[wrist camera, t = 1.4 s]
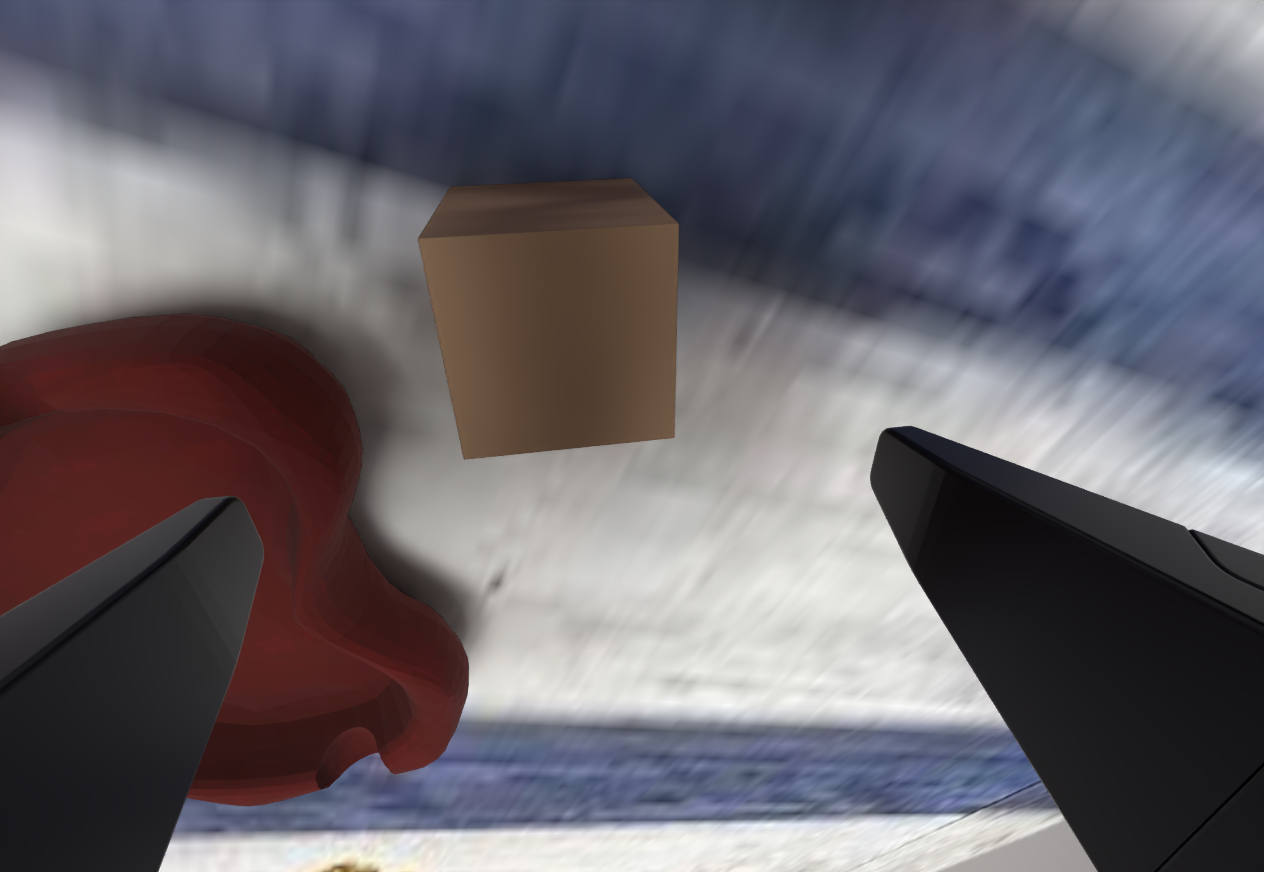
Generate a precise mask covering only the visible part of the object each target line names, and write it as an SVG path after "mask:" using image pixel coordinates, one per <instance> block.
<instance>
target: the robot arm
mask: <svg viewBox="0 0 1264 872" xmlns="http://www.w3.org/2000/svg"><path fill="white" fill-rule="evenodd" d="M870 481H871V486H872V489H873V492H874V494H875V496H876V498H877V500H878V502H879V504H880V506H881V508H882V511H883V513H884V515H885V517H886V519H887V521H888V523H889V525H890V527H891V529H892V531H893V533H894V536H895V538H896V540H897V542H898V544H899V546H900V548H901V550H902V552H903V554H904V556H905V559H906V560H907V562H908V564H909V566H910V568H911V570H912V572H913V574H914V575H915V577H916V579H917V581H918V582H919V584H920V586H921V587H922V589H923V591H924V592H925V594H926V595H927V597H928V599H929V600H930V602H931V603H932V605H933V607H934V608H935V610H936V612H937V613H938V615H939V616H940V618H941V620H942V621H943V623H944V624H945V626H946V628H947V629H948V631H949V633H950V634H951V636H952V637H953V639H954V641H955V642H956V644H957V645H958V647H959V649H960V650H961V652H962V653H963V655H964V657H965V658H966V660H967V662H968V663H969V665H970V666H971V668H972V670H973V671H974V673H975V674H976V676H977V678H978V679H979V681H980V683H981V684H982V686H983V687H984V689H985V691H986V692H987V694H988V695H989V697H990V699H991V700H992V702H993V704H994V705H995V707H996V708H997V710H998V712H999V713H1000V715H1001V716H1002V718H1003V720H1004V721H1005V723H1006V725H1007V726H1008V728H1009V729H1010V731H1011V733H1012V734H1013V736H1014V737H1015V739H1016V741H1017V742H1018V744H1019V745H1020V747H1021V749H1022V750H1023V752H1024V754H1025V755H1026V757H1027V758H1028V760H1029V762H1030V763H1031V765H1032V766H1033V768H1034V770H1035V771H1036V773H1037V775H1038V776H1039V778H1040V779H1041V781H1042V783H1043V784H1044V786H1045V787H1046V789H1047V791H1048V792H1049V794H1050V796H1051V797H1052V799H1053V800H1054V802H1055V804H1056V805H1057V807H1058V808H1059V810H1060V812H1061V813H1062V815H1063V817H1064V818H1065V820H1066V821H1067V823H1068V824H1069V826H1070V828H1071V829H1072V831H1073V832H1074V834H1075V836H1076V837H1077V839H1078V840H1079V842H1080V844H1081V846H1082V847H1083V849H1084V850H1085V852H1086V854H1087V855H1088V857H1089V858H1090V860H1091V862H1092V863H1093V865H1094V867H1095V868H1096V870H1097V871H1098V872H1264V555H1262V554H1260V553H1257V552H1254V551H1251V550H1248V549H1246V548H1243V547H1240V546H1237V545H1234V544H1232V543H1229V542H1226V541H1223V540H1221V539H1218V538H1215V537H1213V536H1210V535H1207V534H1204V533H1202V532H1199V531H1196V530H1187V528H1186V527H1184V526H1182V525H1180V524H1177V523H1174V522H1172V521H1169V520H1166V519H1163V518H1161V517H1158V516H1155V515H1153V514H1150V513H1147V512H1144V511H1142V510H1139V509H1136V508H1134V507H1131V506H1128V505H1125V504H1123V503H1120V502H1117V501H1115V500H1112V499H1109V498H1106V497H1104V496H1101V495H1098V494H1096V493H1093V492H1090V491H1087V490H1085V489H1082V488H1079V487H1077V486H1074V485H1071V484H1068V483H1066V482H1063V481H1060V480H1058V479H1055V478H1052V477H1049V476H1047V475H1044V474H1041V473H1039V472H1036V471H1033V470H1030V469H1028V468H1025V467H1022V466H1020V465H1017V464H1014V463H1011V462H1009V461H1006V460H1003V459H1001V458H998V457H995V456H992V455H990V454H987V453H984V452H982V451H979V450H976V449H973V448H971V447H968V446H965V445H963V444H960V443H957V442H954V441H952V440H949V439H946V438H944V437H941V436H938V435H935V434H933V433H930V432H927V431H925V430H922V429H919V428H916V427H913V426H902V427H893V428H887V429H885V430H884V431H882V433H881V434H880V437H879V440H878V444H877V448H876V452H875V456H874V460H873V464H872V468H871V473H870ZM263 559H264V547H263V543H262V540H261V538H260V536H259V534H258V532H257V529H256V527H255V525H254V523H253V521H252V519H251V517H250V515H249V512H248V510H247V508H246V506H245V504H244V503H243V501H242V500H241V499H240V498H238V497H236V496H221V497H211V498H204V499H200V500H198V501H196V502H194V503H193V504H191V505H189V506H188V507H186V508H184V509H182V510H181V511H179V512H177V513H176V514H174V515H172V516H170V517H169V518H167V519H165V520H164V521H162V522H160V523H159V524H157V525H155V526H153V527H152V528H150V529H148V530H147V531H145V532H143V533H141V534H140V535H138V536H136V537H135V538H133V539H131V540H129V541H128V542H126V543H124V544H123V545H121V546H119V547H117V548H116V549H114V550H112V551H111V552H109V553H107V554H105V555H104V556H102V557H100V558H99V559H97V560H95V561H93V562H92V563H90V564H88V565H87V566H85V567H83V568H82V569H80V570H78V571H76V572H75V573H73V574H71V575H70V576H68V577H66V578H64V579H63V580H61V581H59V582H58V583H56V584H54V585H52V586H51V587H49V588H47V589H46V590H44V591H42V592H40V593H39V594H37V595H35V596H34V597H32V598H30V599H28V600H27V601H25V602H23V603H22V604H20V605H18V606H16V607H15V608H13V609H11V610H10V611H8V612H6V613H5V614H3V615H1V616H0V872H158V871H159V869H160V866H161V863H162V861H163V858H164V856H165V853H166V850H167V848H168V845H169V842H170V840H171V837H172V834H173V832H174V829H175V827H176V824H177V821H178V819H179V816H180V813H181V811H182V808H183V805H184V803H185V800H186V798H187V795H188V792H189V790H190V787H191V784H192V782H193V779H194V776H195V774H196V771H197V769H198V766H199V763H200V761H201V758H202V755H203V753H204V750H205V747H206V745H207V742H208V740H209V737H210V734H211V732H212V729H213V726H214V724H215V721H216V718H217V716H218V713H219V711H220V708H221V705H222V703H223V700H224V697H225V695H226V692H227V689H228V687H229V684H230V682H231V679H232V676H233V673H234V670H235V667H236V664H237V661H238V658H239V654H240V651H241V647H242V644H243V640H244V636H245V632H246V628H247V624H248V620H249V616H250V612H251V608H252V604H253V600H254V596H255V592H256V588H257V584H258V580H259V576H260V572H261V568H262V564H263Z"/></svg>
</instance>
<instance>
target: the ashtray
mask: <svg viewBox="0 0 1264 872" xmlns="http://www.w3.org/2000/svg"><path fill="white" fill-rule="evenodd" d="M361 468H362V443H361V437H360V430H359V427H358V423H357V419H356V416H355V412H354V410H353V407H352V405H351V403H350V400H349V398H348V396H347V393H346V391H345V388H344V387H343V385H342V384H341V383H340V382H339V381H338V379H337V378H336V377H335V376H334V375H333V374H332V373H331V372H330V371H329V370H328V369H327V368H326V367H325V366H323V365H322V364H321V363H320V362H319V361H318V360H317V359H316V358H315V357H314V356H313V355H312V354H311V353H310V352H309V351H308V350H307V349H306V348H304V347H303V346H302V345H300V344H299V343H298V342H296V341H295V340H294V339H292V338H291V337H288V336H286V335H283V334H281V333H278V332H275V331H273V330H270V329H266V328H262V327H258V326H254V325H250V324H246V323H242V322H238V321H234V320H229V319H225V318H221V317H215V316H206V315H197V314H188V313H186V314H172V315H158V316H145V317H132V318H126V319H119V320H112V321H106V322H99V323H92V324H87V325H82V326H77V327H71V328H66V329H61V330H56V331H51V332H46V333H43V334H39V335H35V336H31V337H28V338H24V339H20V340H16V341H13V342H10V343H7V344H5V345H3V346H0V616H1V615H3V614H5V613H6V612H8V611H10V610H11V609H13V608H15V607H16V606H18V605H20V604H22V603H23V602H25V601H27V600H28V599H30V598H32V597H34V596H35V595H37V594H39V593H40V592H42V591H44V590H46V589H47V588H49V587H51V586H52V585H54V584H56V583H58V582H59V581H61V580H63V579H64V578H66V577H68V576H70V575H71V574H73V573H75V572H76V571H78V570H80V569H82V568H83V567H85V566H87V565H88V564H90V563H92V562H93V561H95V560H97V559H99V558H100V557H102V556H104V555H105V554H107V553H109V552H111V551H112V550H114V549H116V548H117V547H119V546H121V545H123V544H124V543H126V542H128V541H129V540H131V539H133V538H135V537H136V536H138V535H140V534H141V533H143V532H145V531H147V530H148V529H150V528H152V527H153V526H155V525H157V524H159V523H160V522H162V521H164V520H165V519H167V518H169V517H170V516H172V515H174V514H176V513H177V512H179V511H181V510H182V509H184V508H186V507H188V506H189V505H191V504H193V503H194V502H196V501H198V500H200V499H204V498H211V497H221V496H236V497H238V498H240V499H241V500H242V501H243V503H244V504H245V506H246V508H247V510H248V512H249V515H250V517H251V519H252V521H253V523H254V525H255V527H256V529H257V532H258V534H259V536H260V538H261V540H262V543H263V547H264V559H263V564H262V568H261V572H260V576H259V580H258V584H257V588H256V592H255V596H254V600H253V604H252V608H251V612H250V616H249V620H248V624H247V628H246V632H245V636H244V640H243V644H242V647H241V651H240V654H239V658H238V661H237V664H236V667H235V670H234V673H233V676H232V679H231V682H230V684H229V687H228V689H227V692H226V695H225V697H224V700H223V703H222V705H221V708H220V711H219V713H218V716H217V718H216V721H215V724H214V726H213V729H212V732H211V734H210V737H209V740H208V742H207V745H206V747H205V750H204V753H203V755H202V758H201V761H200V763H199V766H198V769H197V771H196V774H195V776H194V779H193V782H192V784H191V787H190V790H189V792H188V795H187V798H190V799H195V800H201V801H207V802H213V803H219V804H227V805H236V806H255V805H265V804H269V803H274V802H278V801H282V800H286V799H289V798H293V797H297V796H300V795H304V794H307V793H311V792H315V791H318V790H321V789H325V788H328V787H329V786H330V785H331V784H332V783H333V782H334V781H335V780H337V779H338V778H339V777H340V776H341V775H342V773H343V772H344V771H345V770H346V769H347V768H349V767H350V766H351V765H352V764H354V763H355V762H357V761H358V760H360V759H362V758H364V757H366V756H368V755H371V754H374V753H379V754H380V756H381V759H382V761H383V763H384V764H385V766H386V767H387V768H388V769H389V770H390V772H392V773H393V774H399V773H404V772H408V771H412V770H415V769H419V768H423V767H425V766H427V765H428V764H430V763H432V762H433V761H435V760H436V759H438V758H439V757H440V756H441V755H442V753H443V752H444V751H445V750H446V748H447V745H448V743H449V741H450V739H451V738H452V736H453V734H454V732H455V730H456V728H457V725H458V722H459V719H460V716H461V713H462V711H463V708H464V705H465V701H466V698H467V694H468V686H469V663H468V657H467V655H466V652H465V650H464V647H463V645H462V643H461V641H460V639H459V638H458V636H457V635H456V633H455V632H454V631H453V630H452V629H451V627H450V626H449V625H448V624H447V623H446V621H445V620H444V619H443V618H442V617H441V616H440V615H439V614H438V613H437V612H436V611H435V610H433V609H432V608H431V607H429V606H427V605H426V604H424V603H422V602H420V601H417V600H415V599H413V598H412V597H410V596H408V595H406V594H404V593H402V592H401V591H400V590H398V589H397V588H396V587H394V586H393V585H392V584H390V583H389V582H388V581H387V580H386V579H385V577H384V576H383V575H382V573H381V572H380V571H379V569H378V568H377V567H376V565H375V564H374V563H373V561H372V560H371V559H370V557H369V555H368V553H367V551H366V549H365V547H364V544H363V542H362V540H361V538H360V536H359V534H358V532H357V530H356V528H355V527H354V525H353V523H352V521H351V519H350V518H349V516H348V512H349V510H350V507H351V504H352V502H353V498H354V495H355V491H356V488H357V484H358V480H359V476H360V472H361Z"/></svg>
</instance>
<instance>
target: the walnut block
mask: <svg viewBox="0 0 1264 872" xmlns="http://www.w3.org/2000/svg"><path fill="white" fill-rule="evenodd" d="M678 240H679V223H678V222H677V221H675V220H674V219H673V218H672V217H671V216H670V215H669V214H668V213H667V212H666V211H665V210H664V209H663V208H662V207H661V206H660V205H659V204H658V203H657V202H656V201H655V200H654V199H653V198H652V197H651V196H650V195H649V194H648V193H647V192H646V191H644V190H643V189H642V188H641V187H640V186H639V185H638V184H637V183H636V182H635V181H634V180H633V179H632V178H622V179H601V180H580V181H560V182H539V183H518V184H497V185H476V186H455V187H450V188H449V190H448V191H447V193H446V194H445V196H444V198H443V199H442V201H441V203H440V204H439V206H438V207H437V209H436V211H435V212H434V214H433V215H432V217H431V219H430V220H429V222H428V223H427V225H426V227H425V228H424V230H423V231H422V233H421V235H420V236H419V238H418V242H419V247H420V251H421V256H422V261H423V266H424V271H425V275H426V280H427V285H428V290H429V295H430V299H431V304H432V309H433V314H434V319H435V323H436V328H437V333H438V338H439V343H440V347H441V352H442V357H443V362H444V367H445V371H446V376H447V381H448V386H449V391H450V395H451V400H452V405H453V410H454V415H455V419H456V424H457V429H458V434H459V439H460V443H461V448H462V453H463V458H464V460H465V459H474V458H484V457H494V456H503V455H513V454H523V453H532V452H542V451H552V450H561V449H571V448H581V447H590V446H600V445H610V444H619V443H629V442H639V441H649V440H658V439H668V438H674V436H675V387H676V338H677V289H678Z"/></svg>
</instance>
